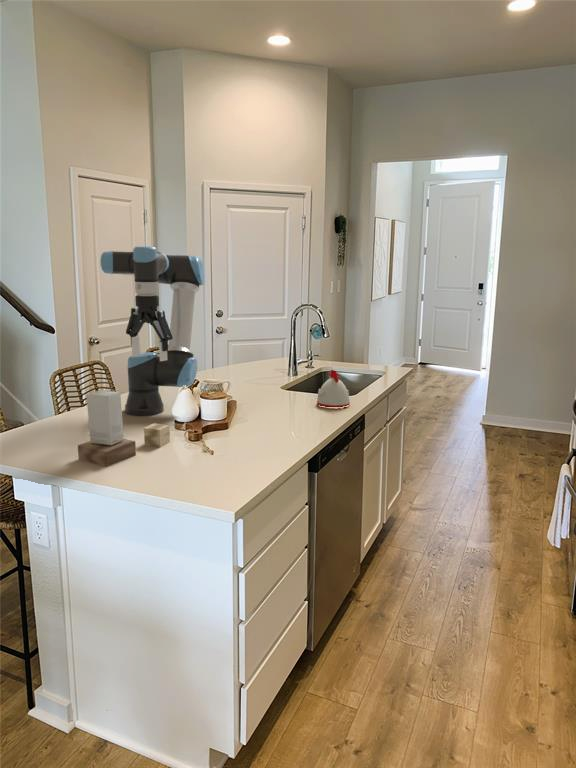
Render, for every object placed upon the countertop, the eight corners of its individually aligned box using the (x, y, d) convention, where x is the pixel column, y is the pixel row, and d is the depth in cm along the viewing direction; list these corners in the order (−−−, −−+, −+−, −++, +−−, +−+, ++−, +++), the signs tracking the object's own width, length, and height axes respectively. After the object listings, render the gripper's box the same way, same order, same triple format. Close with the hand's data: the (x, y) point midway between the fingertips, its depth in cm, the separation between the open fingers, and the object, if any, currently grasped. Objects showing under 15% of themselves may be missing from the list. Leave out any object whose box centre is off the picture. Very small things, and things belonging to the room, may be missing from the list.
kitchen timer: (341, 400, 259) (342, 366, 256) (354, 407, 246) (356, 372, 243) (312, 402, 255) (313, 368, 251) (324, 410, 242) (325, 374, 239)
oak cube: (144, 445, 193) (143, 428, 192) (154, 440, 199) (153, 423, 198) (160, 447, 191) (159, 430, 190) (169, 442, 197) (169, 425, 196)
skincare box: (124, 440, 182) (122, 391, 179) (110, 446, 176) (107, 395, 173) (102, 437, 185) (100, 389, 183) (88, 443, 179) (85, 393, 177)
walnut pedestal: (78, 460, 179) (77, 445, 178) (107, 449, 189) (107, 435, 188) (107, 468, 173) (106, 452, 172) (135, 456, 184) (135, 441, 183)
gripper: (113, 292, 197) (116, 354, 202) (164, 298, 183) (167, 364, 188) (130, 291, 203) (133, 351, 208) (182, 296, 189) (184, 361, 194)
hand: (149, 358), depth 198 cm, fingers open, 13 cm apart
